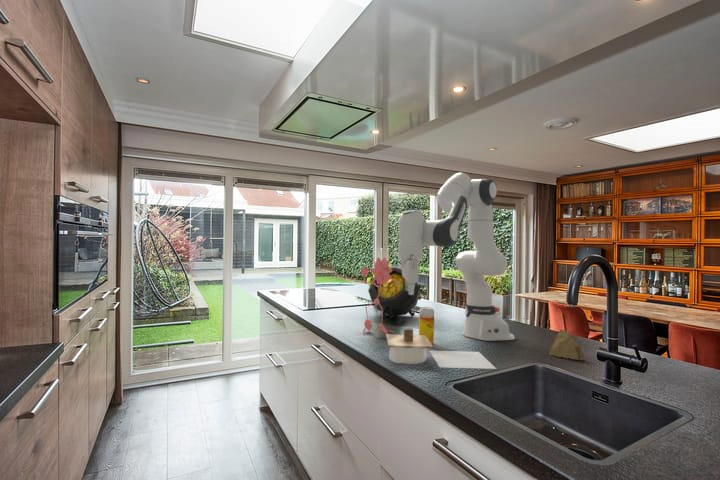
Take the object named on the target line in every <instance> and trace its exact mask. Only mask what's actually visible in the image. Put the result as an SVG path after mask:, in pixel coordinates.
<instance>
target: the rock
mask: <svg viewBox="0 0 720 480" xmlns="http://www.w3.org/2000/svg"><path fill="white" fill-rule="evenodd" d="M548 355H549V356H553V357H556V356H557V357H556V358H561V357H563V358H562V359H568V358H570V360H578V361H584V360H585V357H584V353H583V351H582V349H581V347H580V345H579V344H578V343H577V342H576V340H575V339H574V338H573V337H572V335H570V333H568V331H567V330H565V329H562V328H561V329H560V331H559V332H558V333H557V334H556V336H555V338H554V341H553V343H552V344H551V347H550V350H549V353H548Z"/></svg>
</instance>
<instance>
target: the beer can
mask: <svg viewBox="0 0 720 480" xmlns="http://www.w3.org/2000/svg"><path fill="white" fill-rule="evenodd" d="M418 312H419V315H418V317H419V318H418V335H426V337H427V338H428V340H429V341H430V343H431V344H432V345H433V344H434V343H435V342H434V340H435V339H434V337H435V335H434V333H435V310H434V308H433V307H430V306H422V307H420V308H419V311H418Z"/></svg>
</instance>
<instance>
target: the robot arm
mask: <svg viewBox="0 0 720 480" xmlns="http://www.w3.org/2000/svg"><path fill="white" fill-rule="evenodd" d="M497 187H498V186H497V183H496V182H495V181H494V180H493V179H491V178H479V179H478V178H477V179H476V178H475V179H473V178H471V177H470V175H468V174H466V173H464V172H457V173H455V174H453V175H451V176H450V177H449V178H448V179H447V180H446V181H445V182H444V183H443V184H442V185H441V186H440V188H439V190H438V192H437V193H436V194H437V195H436V201H437V204H438V206H439V207H440V208H441V210H444V211H445V212H446V213H449V214H448V215H447V217H445V218H443V219H442V218H441V219H426V218H425V217H424V216H423V212H422V210H421V209H411V210H410V209H409V210H404V211H402V212H401V213H400V216H399V220H398V232H397V234H398V238H399V240H398V245H397V246H398V247H397V249H398V250H397V259H398V260H400V266H401V269H402V276H403V278H404V279H405V286H406V287H405V290H406V291H408V294H409V295H414V288H415V283H418V284H419V264H420V261H421V260H423V259H424V258H423V257H424V255H423V254H424V253H423V252H424V247H425V246H426V247H428V246H429V247H430V246H431V247H440V248H441V247H442V248H450V247H452V246H453V245H454V244H455V243H456V242H457V240H458V237H459V235H460V234H459V232H460V230H461V229H460V228H461V225H462V223H463V220H464V219H465V215H466V213H467V238H468V239H469V241H471V242H472V243H473V245H474V246H475V249H476V250H465V251H461V252H459V253H458V254H457V255H456V257H455V260H454V261H455V262H454V263H455V267H456V269H458V271H459V272H460V273H461V275H462V277H463V280H464V282H465V286H466V303H465V310H464V311H465V312H464V313H465V320H464V327H463V330H462V333H461V334H462V335H463V336H465V337H468V338H471V339H475V340H476V339H477V340H480V341H485V342H486V341H487V342H489V341H491V342H492V341H515V340H516V339H515V337H516V336H515V334H513V333H511V332H510V329H509V323H507V322H506V321H505V320H503V319H502V318H501V317H500V316H499V315H498V314H497V313H499V312H500V308H499V307H498V306H494V305H493V289H492V287H491V285H489V283H487V282H486V279H485V277H484V276H489V277H490V276H491V277H493V276H500V275H502V274H504V273H505V272H506V270H507V267H508V260H507V258H506V256H505V255H504V254H503V253H502V252H501V251H500V250H499V249H498V247H497V244H496V242H495V238H494V215H493V214H494V213H493V207H492V203H493V202H494V201H495V200H496V198H497V195H498V188H497ZM467 209H468V210H467ZM467 211H468V212H467Z"/></svg>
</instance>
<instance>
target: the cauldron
mask: <svg viewBox="0 0 720 480" xmlns="http://www.w3.org/2000/svg"><path fill="white" fill-rule="evenodd" d="M390 267H391V269H392V272H391V273H389V274H390V276H391V277H392V279H393V280H394V281H395V282H396V283H397V284H398V285H399V287H398V286H397V285H396V284H395V283H394V282H393V281H392V280H391V278H390V279H387V283H386V284H384V283H382V285H381V286H380V284H381V283H380V284H377V280H375V281H374V283H375V284H376V285H378V286H380V288H378V287H377V286H375V285H374V284H372V283H369V284H370V285H369V287H368V294H369V296H370V300H371V302H372V303H374V300H375V299H377V297H378V293H379V289H381V290H380V293H379V297H378V300H379V301H380V305H381V307H382V309H383V317H382V318H383V319H386V320H388V321H389V320H391V319H393V318H395V317H401V316H404V315H407V314H409V316H410V317H415V315H416V314H415V311H413V310H412V309H414V308H415V307H416V306H417V305H418V302H419V300H422V295H420V294H421V290H420V289H421V287H420V286H419V282H418V283H415V288H414V295H409V294H408V291H406V290H405V287H406V286H405V279H404V278H403V276H402V269H401V265H397V264H396V265H392V266H390ZM373 280H374V276H373V277H372V279H371V282H372V281H373ZM380 305H379V304H378V305H375V307H376V309H377V310H378V311H380V312H382V309H381V307H380Z"/></svg>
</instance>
